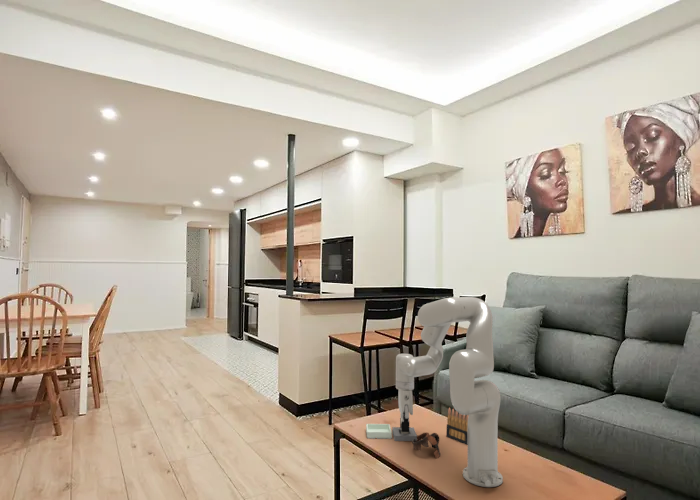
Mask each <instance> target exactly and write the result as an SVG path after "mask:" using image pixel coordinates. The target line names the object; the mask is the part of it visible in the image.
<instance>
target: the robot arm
mask: <svg viewBox="0 0 700 500" xmlns="http://www.w3.org/2000/svg"><path fill="white" fill-rule="evenodd" d="M417 320H418V323H419V324H420V325H421V326H422V327H423V329H422V330H421V333H420V338H421V341H422V342H424V343H425V344H426V345H427V346H429V349H428V351H427V353H426V354H425V355H422V356H421V355H420V356H414V355H413V354H410V353H398V354H397V355H396V356H395V388H396V390H398V394H397V395H398V398H397V399H398V400H397V401H398V409H399V413H400V415H401V414H402V421H401V417H400V418H399V419H400V420H399V421H400V423H399V427H400V428H401V431H402V432H409V427H410V415H411V416H413V415H414V406H413V405H414V404H413V403H414V402H413V391H414V389H415V378H417V377H422V376H428V375H433V374H434V373H435V372H436V371H437V370H438V369H439V366H440V364H441V363H442V362H443V361H442V360H443V358H444V347H443V345H442V344H443V341H444V339H445V337H446V335H447V333H448V331H449V329H450V327H451V325H452V323H462V322H469V325H468V326H467V330H466V334H465V335H466V337H465V339H466V346H465V347H466V348H465V349H464V348H463V349H459V350H457V351H455V352H454V353H452V355H451V357H450V360H449V364H448V369H449V370H448V373H449V375H448V376H449V394H450V395H449V396H450V401H451V404H452V407H453V409H454V411H455V412H456V411H457V412H458V415H459V414H462V416H463V415H465V416H467V415H469V417H468V445H467V466H466V467H464V468H463V469H462V477H463V478H464V480H465V481H467V482H469V483H470V484H472V485H475V486H478V487H483V488H495V487H498V486H500V485H502V484H503V482H504V478H503V474H501V472H499V471H498V469H499V468H498V466H499V465H498V462H499V460H498V458H499V457H498V453H499V451H498V449H499V448H498V428H499V427H498V426H499V425H498V423H499V413H500V412H499V411H500V406H501V401H502V400H501V392H500V390H499V388H498V386H497V385H496V384H495V383H494V382H492V381H491V380H487V379H479V378H483V377H487V376H489V375H491V374H492V373H493V372H494V368H495V362H494V361H495V360H494V342H493V314H492V310H491V307H490V306H489V305H488V304H487V302H485V301H484V300H483V299H481V298H478V297H475V296H460V297H459V296H458V297H457V296H455V297H444V298H441V299H438V300H435V301H431V302H427V303H426V304H422V306H421V307H420V308H419V310H418V312H417ZM475 379H479V380H475ZM403 413H405V414H403ZM404 416H405V417H404Z"/></svg>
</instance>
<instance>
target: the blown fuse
mask: <svg viewBox="0 0 700 500" xmlns="http://www.w3.org/2000/svg"><path fill="white" fill-rule="evenodd" d="M403 414H405V413H403ZM404 417H405V416H404ZM400 418H401V421H402V414H401V413H400ZM401 434H409V432H402V431H401Z"/></svg>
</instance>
